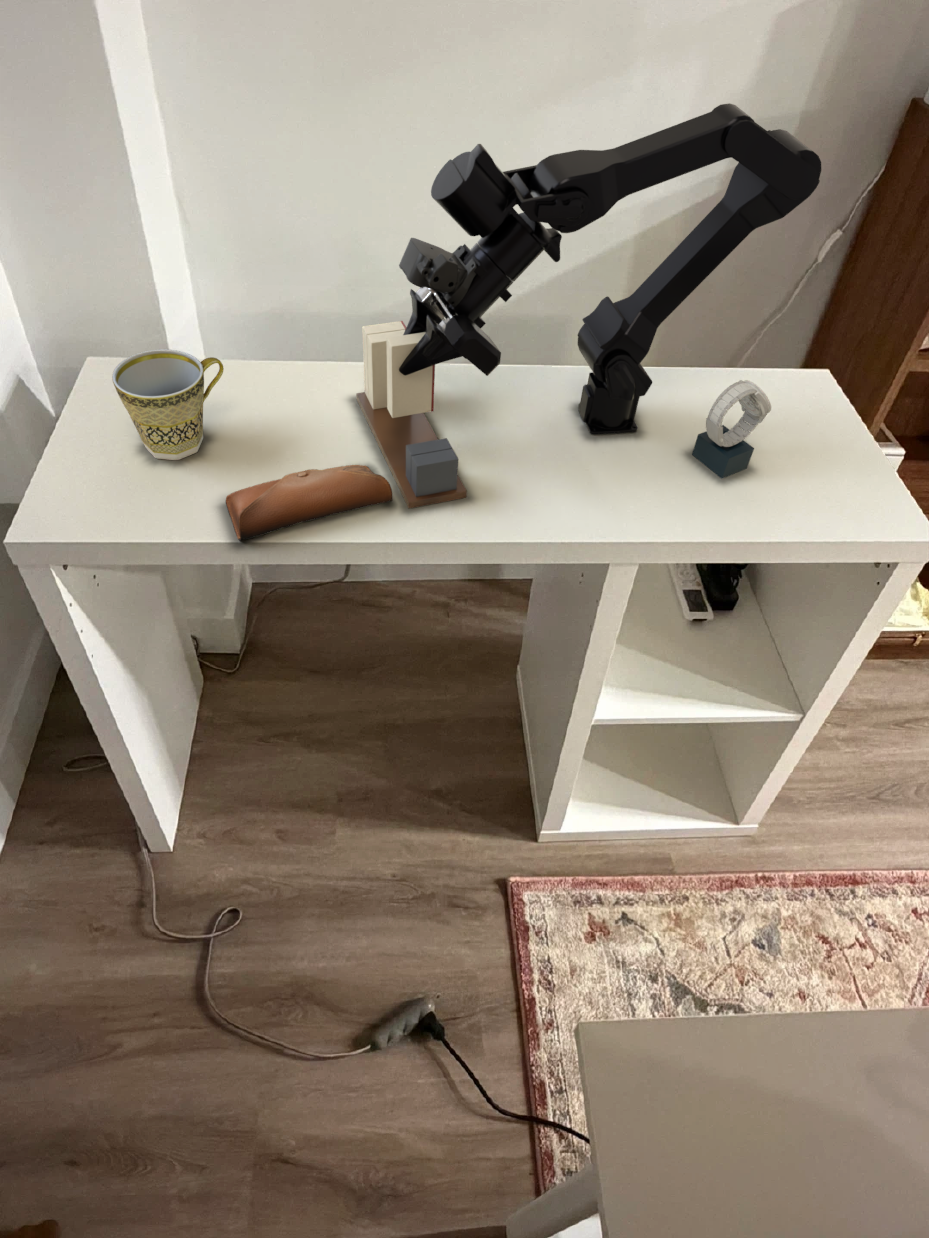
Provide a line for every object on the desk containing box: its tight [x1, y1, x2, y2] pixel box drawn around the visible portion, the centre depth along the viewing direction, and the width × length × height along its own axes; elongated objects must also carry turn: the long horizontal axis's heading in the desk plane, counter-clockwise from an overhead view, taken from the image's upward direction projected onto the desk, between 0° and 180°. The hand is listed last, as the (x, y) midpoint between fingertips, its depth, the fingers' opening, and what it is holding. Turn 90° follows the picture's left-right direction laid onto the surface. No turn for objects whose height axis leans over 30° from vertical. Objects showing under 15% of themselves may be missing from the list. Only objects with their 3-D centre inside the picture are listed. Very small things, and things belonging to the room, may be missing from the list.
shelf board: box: [355, 391, 468, 509], centre depth 107 cm, size 7×23×1 cm, turn 20°
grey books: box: [406, 437, 459, 497], centre depth 100 cm, size 5×4×4 cm
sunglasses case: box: [225, 464, 393, 541], centre depth 98 cm, size 18×7×7 cm, turn 116°
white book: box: [386, 332, 436, 418], centre depth 100 cm, size 5×2×10 cm, turn 111°
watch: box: [691, 379, 772, 479], centre depth 105 cm, size 6×8×11 cm
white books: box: [361, 320, 407, 409], centre depth 109 cm, size 5×4×10 cm
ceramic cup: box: [111, 348, 224, 461], centre depth 102 cm, size 13×10×10 cm
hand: (398, 367), depth 99 cm, fingers closed on white book, 2 cm apart
